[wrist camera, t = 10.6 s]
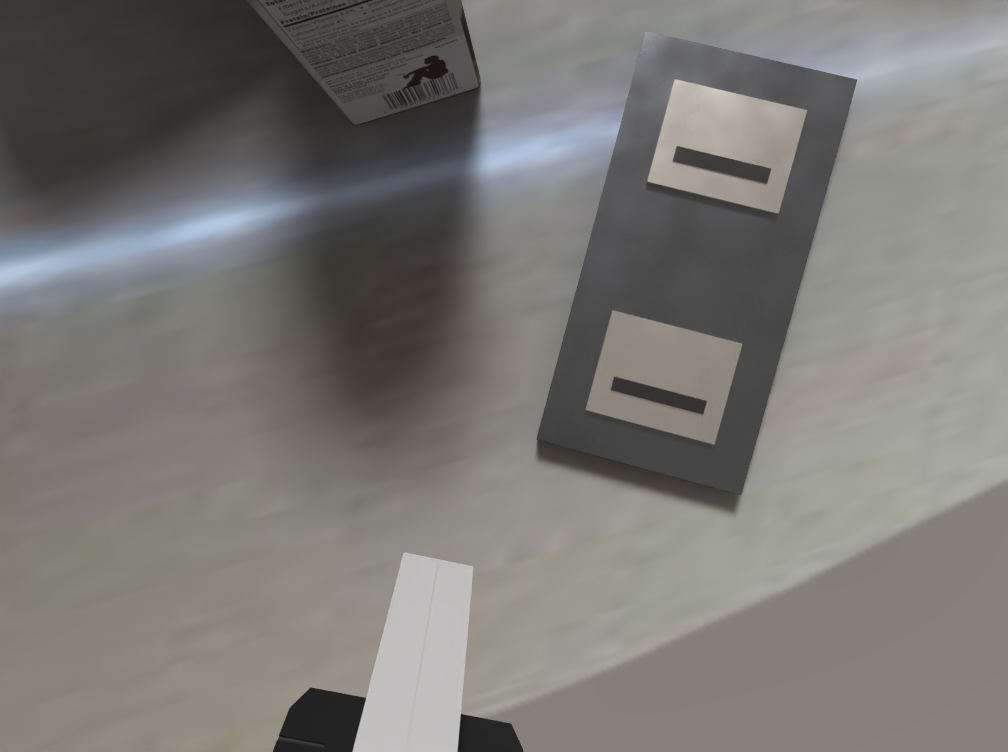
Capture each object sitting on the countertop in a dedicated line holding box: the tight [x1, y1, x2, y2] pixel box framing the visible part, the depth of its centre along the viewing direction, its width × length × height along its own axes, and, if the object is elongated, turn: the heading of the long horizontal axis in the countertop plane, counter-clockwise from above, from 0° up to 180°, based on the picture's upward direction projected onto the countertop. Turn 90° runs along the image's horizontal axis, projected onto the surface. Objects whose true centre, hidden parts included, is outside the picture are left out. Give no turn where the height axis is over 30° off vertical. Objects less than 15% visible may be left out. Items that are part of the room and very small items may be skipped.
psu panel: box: [537, 31, 857, 495], centre depth 30 cm, size 9×18×1 cm, turn 165°
